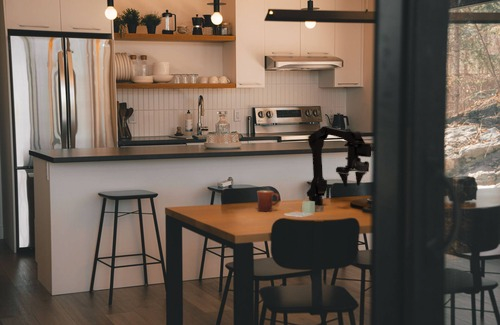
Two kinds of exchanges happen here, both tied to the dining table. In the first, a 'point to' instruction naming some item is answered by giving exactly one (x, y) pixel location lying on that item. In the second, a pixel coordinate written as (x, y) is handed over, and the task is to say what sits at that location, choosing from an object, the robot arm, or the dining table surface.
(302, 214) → the trivet
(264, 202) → the mug
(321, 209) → the walnut block
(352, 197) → the dining table surface
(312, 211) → the sage block
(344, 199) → the dining table surface
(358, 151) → the robot arm
